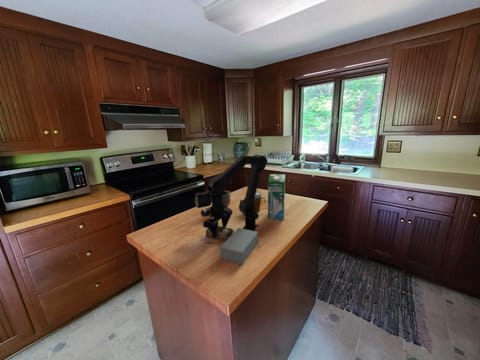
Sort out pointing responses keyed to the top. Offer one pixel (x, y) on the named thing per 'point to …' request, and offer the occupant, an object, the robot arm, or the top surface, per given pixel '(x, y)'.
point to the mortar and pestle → (227, 199)
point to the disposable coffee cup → (257, 201)
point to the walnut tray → (220, 233)
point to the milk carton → (276, 196)
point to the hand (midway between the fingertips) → (219, 233)
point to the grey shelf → (239, 246)
